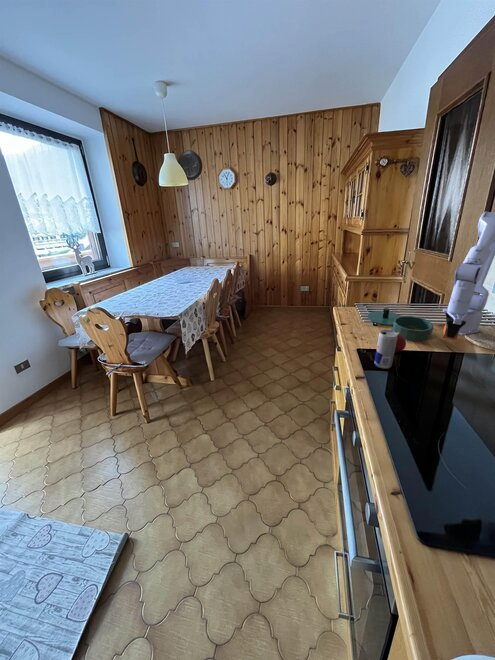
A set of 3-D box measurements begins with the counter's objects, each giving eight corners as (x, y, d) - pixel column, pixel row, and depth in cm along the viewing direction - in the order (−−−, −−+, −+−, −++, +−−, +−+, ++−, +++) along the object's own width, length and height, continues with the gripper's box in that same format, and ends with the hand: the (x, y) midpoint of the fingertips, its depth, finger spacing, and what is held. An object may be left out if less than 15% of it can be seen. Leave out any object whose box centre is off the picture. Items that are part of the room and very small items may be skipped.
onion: (405, 357, 99) (410, 337, 95) (388, 356, 100) (392, 336, 96) (401, 348, 104) (405, 329, 100) (384, 347, 105) (388, 328, 101)
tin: (411, 324, 120) (414, 313, 118) (438, 338, 108) (441, 327, 106) (384, 330, 117) (386, 319, 115) (409, 345, 105) (412, 333, 103)
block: (442, 333, 105) (445, 323, 103) (455, 335, 103) (458, 325, 102) (443, 337, 102) (445, 328, 100) (456, 340, 100) (459, 330, 99)
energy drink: (377, 358, 99) (382, 328, 93) (393, 363, 96) (400, 332, 90) (372, 365, 95) (377, 334, 90) (388, 371, 92) (395, 339, 87)
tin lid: (387, 311, 133) (389, 301, 131) (410, 323, 121) (413, 312, 119) (360, 316, 130) (362, 305, 128) (381, 329, 118) (383, 318, 116)
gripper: (445, 291, 104) (436, 324, 110) (447, 304, 93) (437, 340, 99) (469, 293, 100) (458, 327, 107) (474, 308, 89) (461, 345, 95)
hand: (449, 334), depth 102 cm, fingers closed on block, 4 cm apart
